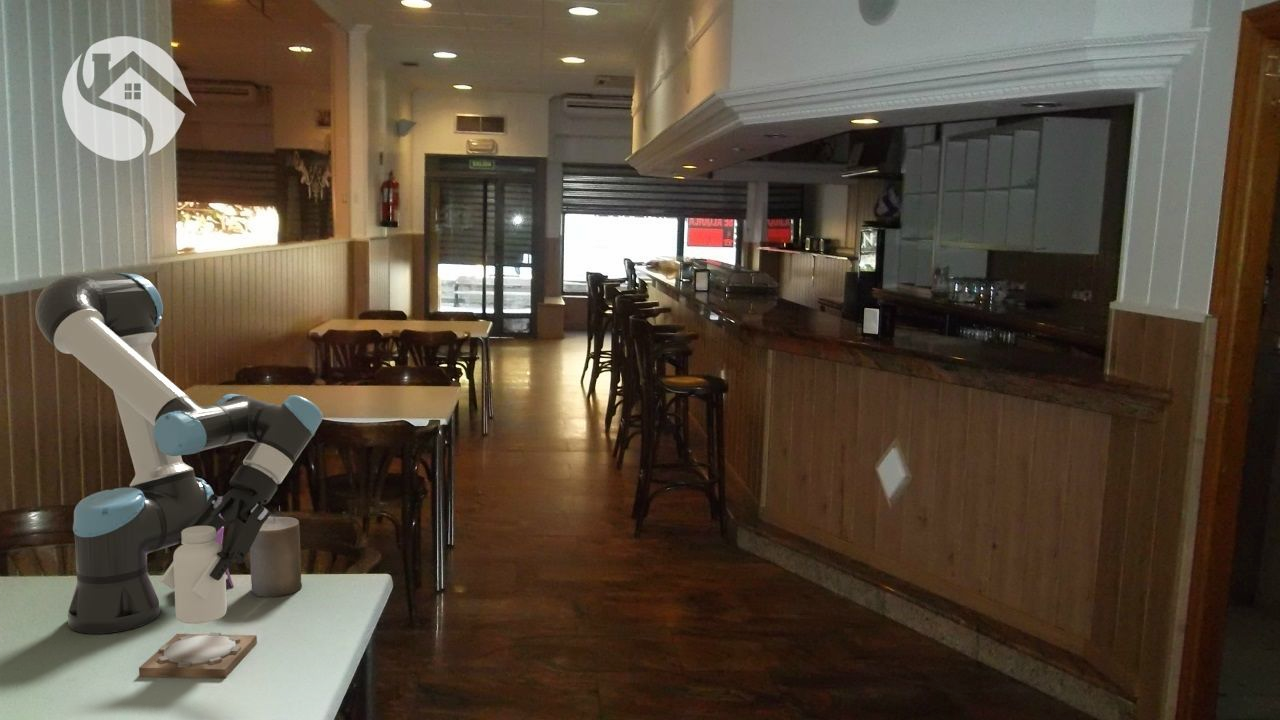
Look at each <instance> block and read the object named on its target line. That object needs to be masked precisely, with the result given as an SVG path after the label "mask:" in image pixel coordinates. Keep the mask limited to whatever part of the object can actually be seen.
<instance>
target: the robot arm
mask: <svg viewBox="0 0 1280 720" xmlns="http://www.w3.org/2000/svg"><path fill="white" fill-rule="evenodd" d="M34 313H35V315H34V316H35V319H36V323H37V326H38V328H39V330H40V333H41V334H42V335H43V337H44V338H45V339H46V341H48V342H49V343H50V344H51V345H52V346H53V347H54V348H55V349H57V351H59V352H60V353H62V354H68V355H72V356H74V357H75V358H76V359H77V360H78V361H79V362H80V363H81V364H82V365H84V366H85V367H86V368H88V370H90V371H91V372H92V373H93V374H95V376H97V377H98V378H99V379H100V380H101V381H102V382H104V384H106V385H107V386H108V387H109V388H111V390H112V391H113V395H114V399H115V403H116V406H117V409H118V413H119V417H120V421H121V424H122V428H123V431H124V436H125V439H126V443H127V447H128V450H129V455H130V458H131V461H132V464H133V468H134V472H135V475H134V477H133V479H132V481H131V482H130V484H129V487H117V488H113V489H105V490H101V491H98V492H97V491H96V492H95V493H92V494H90V495H88V496H86V497H84V498H83V499H81V500H80V501H79V502H78V503H77V504H76V505H75V508H74V511H73V523H72V531H73V533H74V550H75V551H74V552H75V567H76V570H75V571H76V585H75V589H74V591H73V595H72V599H71V602H70V605H69V608H68V612H67V623H68V628H70V629H71V630H72V631H75V632H77V633H82V634H83V633H84V634H91V635H92V634H96V635H97V634H99V635H100V634H113V633H118V632H123V631H124V632H125V631H128V630H132V629H136V628H140V627H141V626H144V625H147V624H149V623H150V622H153V621H154V620H155V619H157V618H158V617H159V615H160V601H159V598H158V595H157V594H156V591H155V589H154V586H153V584H152V581H151V578H150V576H149V574H148V556H147V555H148V554H151V553H154V552H157V551H160V550H163V549H166V548H169V547H173V546H176V545H178V544H180V546H181V545H183V544H182V543H181V541H182V536H181V532H182V531H183V530H184V529H186V528H189V527H194V526H212V527H214V528H215V529H216V532H217V531H218V530H219V529H220V528H222V527H223V526H224V527H227V526H228V525H229V527H228V529H227V533H226V536H225V538H224V542H223V543H222V546H223V547H222V550H221V552H218V553H217V555H218V556H219V557H221V558H219V557H217V556H215V557H214V558H213V560H212V561H211V562H210V564H209V565H208V567H207V568H206V570H205V571H204V573H203V574H202V576H201V577H200V579H199V580H198V582H197V583H196V585H195V586H194V588H193V589H192V592H193V593H195V594H196V595H198V596H199V597H200V598H202V599H206V598H207V596H208V595H209V593H210V592H211V590H212V589H213V587H214V586H215V584H216V583H217V581H219V580H220V579H221V578H222V576H223V574H224V573H226V570H227V568H228V569H229V567H230V566H231V565H233V564H235V563H238V564H241V563H243V562H244V561H245V559H246V557H247V555H248V554H249V553H250V548H251V546H252V544H253V542H254V540H255V538H256V536H257V534H258V532H259V530H260V529H261V527H262V525H263V523H264V522H265V521H266V520H267V518H270V516H271V512H270V510H268V509H267V508H266V507H265V506H263V505H267V504H268V503H269V502H270V501H271V499H273V496H274V495H275V493H277V491H278V485H280V484H282V483H283V481H284V479H285V477H286V476H287V475H288V474H289V471H290V470H291V469H292V467H293V466H294V465H295V463H296V461H297V459H298V458H299V457H300V456H301V454H302V452H303V451H304V449H305V448H306V447H307V445H308V444H309V442H310V441H311V440H312V438H313V437H314V436H315V434H316V432H317V430H318V428H319V426H320V425H321V423H322V421H323V413H322V410H321V409H320V408H319V407H318V406H317V405H316V404H315V403H313V402H312V401H310V400H309V399H307V398H305V397H303V396H300V395H297V394H296V395H294V394H293V395H289V396H287V398H286V399H285V400H284V401H283V402H282V403H281V405H280V404H274V403H270V402H267V401H264V400H261V399H256V398H255V397H254V398H253V397H251V396H250V395H249V396H248V395H246V394H236V393H227V394H225V395H224V396H222V397H221V399H219V400H217V401H216V403H215V404H209V405H204V406H202V405H200V404H198V402H196V401H195V400H194V399H192V398H191V397H190V396H189V395H187V394H186V393H185V392H184V391H183V390H182V389H180V388H179V386H177V385H176V384H175V383H174V382H173V381H171V380H170V379H169V378H168V377H167V376H165V375H164V374H163V373H162V372H161V371H160V370H158V366H157V363H156V362H157V361H156V358H155V355H154V351H153V348H152V344H153V342H154V340H155V339H156V338H157V335H158V333H157V329H156V327H158V326H159V325H160V323H161V321H162V318H163V317H162V314H163V313H164V306H163V301H162V297H161V295H160V293H159V291H158V289H157V288H156V287H155V286H154V284H153V283H152V282H151V280H148V279H147V278H144V276H142V275H140V274H135V273H124V272H116V273H104V274H103V273H102V274H89V275H88V274H87V275H85V274H84V275H67V276H62V277H60V278H57V279H55V280H53V281H51V282H50V283H48V285H47V286H45V287H44V288H43V289H42V290H41V293H40V294H39V296H38V298H37V301H36V304H35V312H34ZM244 441H250V442H253V443H254V445H253V446H252V448H251V449H250V450H249V452H248V453H247V454H246V456H245V458H244V459H243V460H242V463H243V465H240V466H238V468H237V469H236V471H235V472H234V473H233V475H232V477H231V478H230V480H229V485H230V489H229V490H228V492H226V493H225V494H224V495H223V496H218V495H216V493H214V491H213V489H212V487H211V486H210V484H207V483H208V482H207V481H205V480H204V479H203V478H202V477H201V478H199V477H196V474H195V471H194V467H192V466H190V465H188V464H186V463H185V462H184V461H183V458H182V456H184V455H186V456H189V455H193V454H197V453H200V452H202V451H206V450H210V449H214V448H218V447H223V446H228V445H231V444H236V443H239V442H244ZM219 514H220V516H219ZM239 552H240V553H239ZM159 582H160V583H162V584H163V585H165V587H167V588H168V589H171V590H175V587H174V563H173V559H172V560H171V563H170V565H169V567H168V568H166V571H165V572H164V574H163V575H162V577H161V578H160V580H159Z"/></svg>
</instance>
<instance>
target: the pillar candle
mask: <svg viewBox="0 0 1280 720" xmlns="http://www.w3.org/2000/svg"><path fill="white" fill-rule="evenodd" d="M300 532H301V531H300V520H298V519H297V518H295V517H292V516H291V517H290V516H272V517H268V518H267V520H266V521H265V522H264V523H263V525H262V527H261V529H260V530H259V532H258V534H257V536H256V538H255V540H254V542H253V544H252V546H251V548H250V550H249V561H250V562H249V563H250V565H249V566H250V581H251V582H250V583H251V592H252V593H253V594H254V595H255V596H258V597H264V598H274V597H283V596H286V595H289V594H294V593H296V592H298V591H300V590H301V589H302V588H303V583H302V566H301V558H302V557H301V538H300V537H301V536H300V535H301V533H300Z"/></svg>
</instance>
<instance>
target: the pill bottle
mask: <svg viewBox="0 0 1280 720" xmlns="http://www.w3.org/2000/svg"><path fill="white" fill-rule="evenodd" d="M181 536H182V541H181V543H182V544H183V545H181V544H180V545H179V546H178V547H177V548H176V549H175V550H174V553H173V555H172V556H173V559H172V560H173V563H174V587H175V588H174V606H175V608H174V609H175V619H176V620H177V622H180V623H183V624H190V625H191V624H192V625H194V624H196V625H197V624H205V623H211V622H214V621H217V620H219V619H221V618H223V617H224V616H225V615H226V614H227V608H228V607H227V606H228V605H227V604H228V603H227V581H226V580H227V578H226V576H227V573H226V572H225V573H224V574H223V576H222V578H221V579H220V580H219V581H217V583H216V584H215V586H214V587H213V589H212V590H211V592H210V593H209V595H208V596H207V598H206V599H202V598H200V597H199V596H198V595H196V594H195V593H193V592H192V589H193V588H194V586H195V585H196V583H197V582H198V580H199V579H200V577H201V576H202V574H203V573H204V571H205V570H206V568H207V567H208V565H209V564H210V562H211V561H212V560H213V558H214V557H215V556H217V557H219V556H218V555H217V553H218V552H221V550H222V547H223V544H222V545H221V544H219V543H217V542H214V541H215V540H216V529H215V528H214V527H212V526H194V527H189V528H186V529H184V530H183V531H182V532H181ZM219 558H221V557H219Z"/></svg>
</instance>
